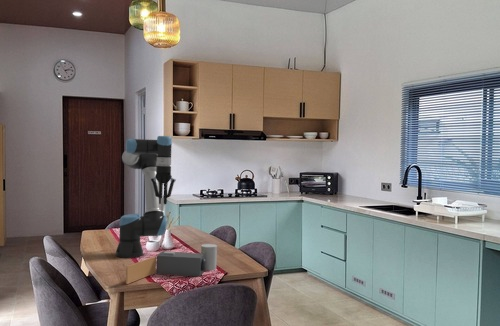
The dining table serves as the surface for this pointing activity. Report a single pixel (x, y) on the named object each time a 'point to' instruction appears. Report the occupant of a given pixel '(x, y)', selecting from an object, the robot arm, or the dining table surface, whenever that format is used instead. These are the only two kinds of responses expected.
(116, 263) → the dining table surface
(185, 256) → the camera body
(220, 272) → the dining table surface
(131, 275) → the side door
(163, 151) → the robot arm
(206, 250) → the cup
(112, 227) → the dining table surface
